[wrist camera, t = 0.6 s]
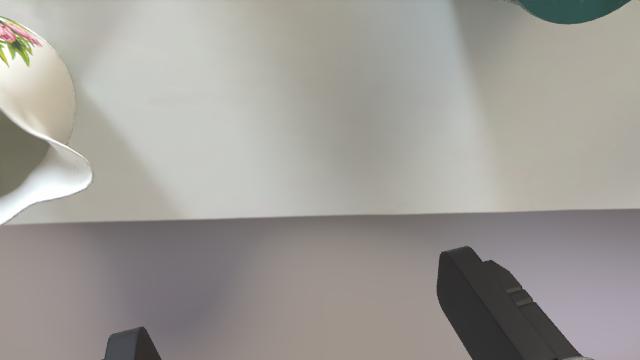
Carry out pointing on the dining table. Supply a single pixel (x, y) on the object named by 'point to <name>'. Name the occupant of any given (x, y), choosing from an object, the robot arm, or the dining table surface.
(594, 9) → the pot lid
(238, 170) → the dining table surface
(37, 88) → the pitcher
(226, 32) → the dining table surface
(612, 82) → the dining table surface
